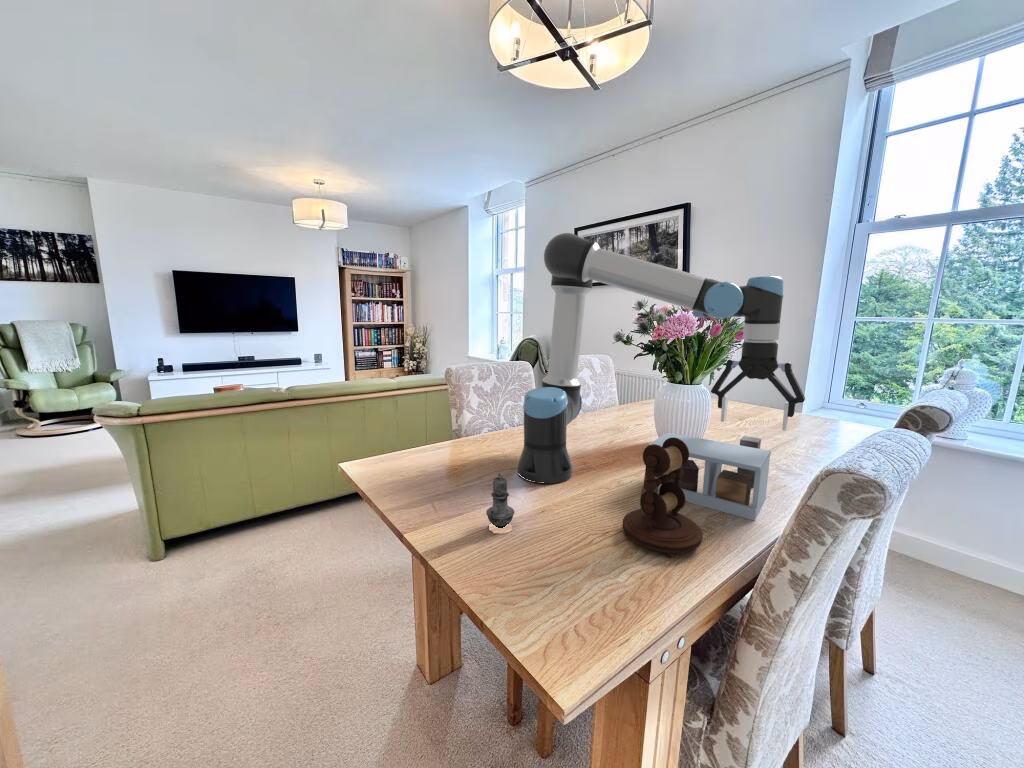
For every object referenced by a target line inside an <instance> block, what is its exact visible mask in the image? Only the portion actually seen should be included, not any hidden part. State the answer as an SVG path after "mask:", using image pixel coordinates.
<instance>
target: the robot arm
mask: <svg viewBox="0 0 1024 768" xmlns="http://www.w3.org/2000/svg"><path fill="white" fill-rule="evenodd" d="M543 252H544V253H543V261H544V266H545V268H546V270H547V271H548V272H549V273H550V274H551V280H550V288H551V289H552V290H553V291H554V293H555V295H554V297H555V298H554V308H553V316H552V317H553V318H552V327H551V339H550V351H549V361H548V372H547V375H545V377H543V378H542V381H541V387H538V388H532V389H530V390H529V391H527V392H526V394H524V398H523V405H522V408H523V448H522V451H521V455H520V457H519V461H518V463H517V474H518V473H519V474H520V475H521V476H522V477H524V478H525V479H528V480H531V481H535V482H544V483H554V484H557V483H556V482H560V483H563V482H566V481H568V480H570V478H572V476H573V465H572V462H571V459H570V455H569V453H568V449H567V428H568V427H567V426H568V425H569V424H570V423H572V422H573V421H574V420H575V419H576V418H577V417H578V416H579V414H580V412H581V409H582V406H583V398H582V395H581V387H582V382H581V381H580V380H579V378H578V377H577V376H578V369H579V367H578V366H579V357H580V352H581V351H580V348H581V340H582V332H583V331H582V329H583V322H584V314H585V313H584V312H585V303H586V297H587V295H588V293H590V291H592V289H593V281H595V282H598V283H601V284H604V285H608V286H611V287H616V288H618V289H620V290H621V289H622V290H625V291H628V292H632V293H635V294H639V295H641V296H645V297H648V298H651V299H655V300H658V301H662V302H665V303H668V304H672V305H675V306H679V307H682V308H685V309H689V310H691V311H692V315H693V317H695V318H703V319H708V318H717V319H720V320H724V319H728V318H741V317H742V318H744V322H743V331H742V332H743V334H742V339H743V340H744V341H743V343H742V345H741V346H742V347H741V358H740V359H739V360H735V359H733V358H729V359H728V360H727V361H726V364H725V368H724V370H723V371H722V373H721V374H720V375H719V377H718V379H717V380H716V382H715V384H714V385H713V387H712V388H711V390H710V393H712V394H714V395H716V396H717V398H718V399H717V408H718V409H721V413H720V414H721V415H720V422H721V423H724V422H726V421H727V415H728V403H729V402H728V401H729V395H726V394H727V393H728V392H730V391H731V390H732V389H733V388H734V387H735V386H736V385H737V384H738V383H740V382H741V381H742V380H743V379H744V378H748V379H750V380H751V379H752V380H753V379H754V380H755V379H758V380H766V379H768V381H769V382H771V384H772V385H773V386H774V387H775V388H776V390H777V391H778V392H779V393H780V394H781V396H782V397H783V398H784V399H785V400H786V402H785V403H784V409H783V417H782V426H781V430H782V431H784V432H785V431H787V429H788V425H789V418H793V416H794V415H795V411H796V410H795V408H796V405H797V404H800V403H801V404H802V403H804V402H805V400H806V396H805V394H804V393H803V390H802V388H801V387H800V384H799V383H798V380H797V378H796V376H795V374H794V372H793V364H792V362H791V361H787V362H778V349H779V344H778V342H777V341H779V339H780V328H781V316H782V308H783V307H782V306H783V298H784V280H783V278H782V277H781V276H778V275H777V276H775V275H767V276H754V277H750V278H748V279H747V282H746V285H740V286H737V285H736V283H732V282H729V281H719V280H717V279H716V280H715V279H712V278H708V277H706V276H701V275H697V274H695V273H691V272H688V271H683V270H680V269H676V268H672V267H668V266H666V265H662V264H658V263H655V262H650V261H647V260H645V259H644V260H643V259H640V258H637V257H632V256H629V255H625V254H621V253H618V252H615V251H611V250H608V249H604V248H601V247H600V245H599V243H598V242H595V241H590V240H588V239H585V238H583V237H581V236H579V235H576V234H574V233H571V232H565V233H564V232H563V233H560V234H557V235H555V236H554V237H552V238H551V239H550V240H549V241H548V242H547V245H546V246H545V249H544V251H543ZM737 366H738V367H739V368H740V370H741V372H740V373H739V374H738V375H737V376H736V377H735V378H733V380H731V381H730V382H729V383H728V384H727V385H725V387H723V389H720V388H721V387H722V385H723V384H724V382H725V381H726V380H727V378H728V376H729V375H730V373H731V372H732V370H733V369H735V368H737ZM777 369H780V370H781V372H783V373H784V374H785V377H786V379H787V381H788V383H789V385H790V387H791V389H792V390H793V391H792V392H793V393H794V395H795V396H794V395H793V394H792V393H791V392H790V391H789V390H788V388H786V386H785V385H784V384H783V382H781V381H780V379H779V378H778V376H777V375H776V374H775V373H774V372H775V371H776V370H777ZM567 479H568V480H567ZM565 480H566V481H565ZM562 481H563V482H562Z"/></svg>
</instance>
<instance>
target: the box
mask: <svg viewBox="0 0 1024 768" xmlns="http://www.w3.org/2000/svg"><path fill="white" fill-rule="evenodd" d="M681 469H682V470H683V476H682V478H681V480H679V482H680V486H681V487H680V488H682V489H685V490H689V491H693V492H697V493H698V487H699V486H698V485H699V472H700V468H699V466H698V465H697V464H696V462H695V461H694V460H693V459H688V461H687V462H686V463H685V464H684V465H682V467H681ZM668 482H672V483H674V479H671V480H670V481H668Z"/></svg>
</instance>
